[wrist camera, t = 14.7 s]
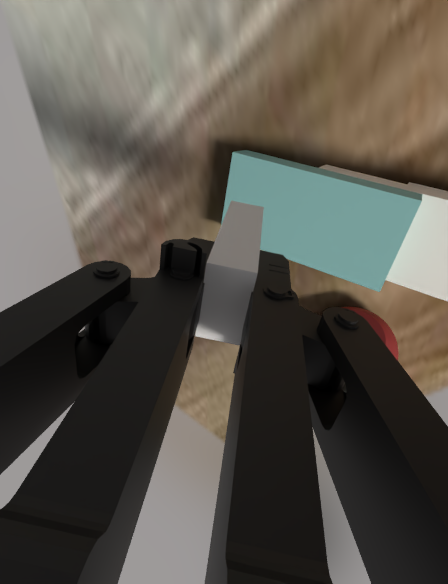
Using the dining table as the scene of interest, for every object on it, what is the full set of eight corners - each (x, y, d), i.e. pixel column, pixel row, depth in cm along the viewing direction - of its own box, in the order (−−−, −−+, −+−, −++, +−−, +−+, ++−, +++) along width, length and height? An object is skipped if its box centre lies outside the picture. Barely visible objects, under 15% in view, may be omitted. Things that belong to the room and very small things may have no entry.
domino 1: (219, 234, 22) (379, 292, 18) (232, 152, 19) (421, 200, 16) (232, 227, 23) (383, 279, 20) (246, 149, 20) (422, 194, 17)
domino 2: (294, 248, 22) (470, 309, 18) (318, 167, 19) (527, 220, 16) (303, 241, 23) (467, 295, 20) (325, 164, 20) (519, 212, 17)
